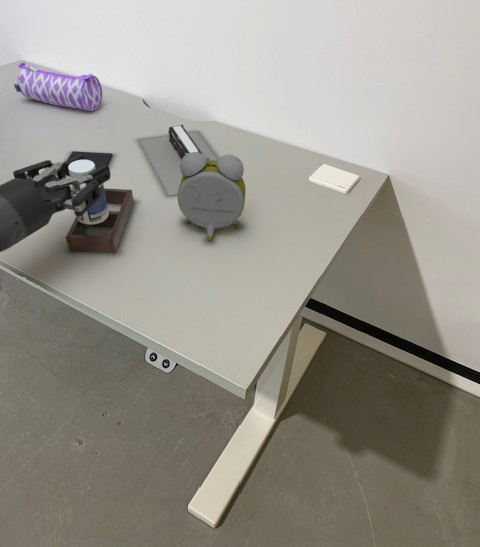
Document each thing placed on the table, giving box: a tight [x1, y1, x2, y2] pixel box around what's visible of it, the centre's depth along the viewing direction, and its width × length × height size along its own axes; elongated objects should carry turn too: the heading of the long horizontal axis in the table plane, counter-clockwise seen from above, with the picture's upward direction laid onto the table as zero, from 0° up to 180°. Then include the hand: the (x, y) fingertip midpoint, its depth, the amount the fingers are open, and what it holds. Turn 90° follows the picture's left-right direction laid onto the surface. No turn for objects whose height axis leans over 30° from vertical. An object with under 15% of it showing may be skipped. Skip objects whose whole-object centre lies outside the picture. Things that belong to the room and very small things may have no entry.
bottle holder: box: [65, 187, 135, 254], centre depth 77 cm, size 8×15×3 cm, turn 179°
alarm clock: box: [177, 152, 247, 241], centre depth 73 cm, size 12×7×15 cm, turn 86°
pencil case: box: [13, 61, 103, 112], centre depth 111 cm, size 22×9×10 cm, turn 72°
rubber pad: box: [67, 150, 113, 169], centre depth 92 cm, size 9×9×1 cm
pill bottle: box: [68, 160, 110, 226], centre depth 69 cm, size 5×5×10 cm
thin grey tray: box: [139, 123, 218, 196], centre depth 94 cm, size 14×25×4 cm, turn 23°
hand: (95, 165), depth 68 cm, fingers closed on pill bottle, 5 cm apart
